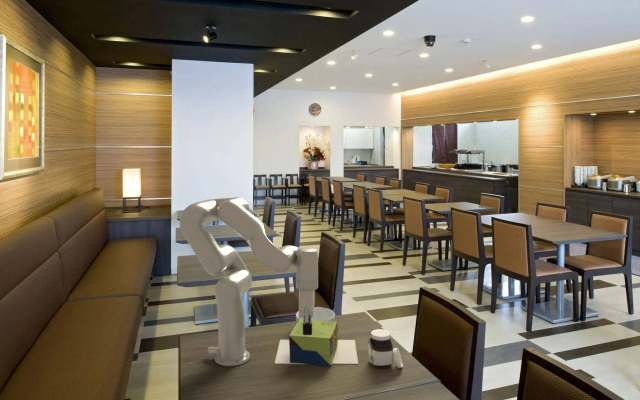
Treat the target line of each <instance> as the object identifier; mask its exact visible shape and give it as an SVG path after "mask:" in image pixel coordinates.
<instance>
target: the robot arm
mask: <svg viewBox="0 0 640 400" xmlns="http://www.w3.org/2000/svg"><path fill="white" fill-rule="evenodd" d="M212 222H223V223H224V224H225V225H227V226H228V228H229V229H231V230H233V232H234V233H237V235H238V236H240V237H241V238H242V239H243V240H245V241H246V242H247V244H248V247H249V248H250V250H251V251H252V252H253V254H254V255H255V256H256V258H257V259H258V260H259V261H260V262H262V263H263V264H264V265H265V266H266V267H267V268H269V269H270V270H272V271H273V272H275V273H280V274H283V273H285V272H287V271H289V270H290V269H291V268H293V267H295V268H296V269H295V271H296V273H295V274H296V275H295V277H296V279H295V280H296V285H295V286H296V289H297V290H298V311H299V318H300V319H301V318H302V317H303V335H312V322H311V318H313V312H314V307H315V299H316V298H315V296H316V295H315V291H316V290H317V289H318V288H319V252H318V250H317V249H316V248H314V247H309V246H308V247H300V246H299V247H298V246H294V245H291V244H290V245H288V244H287V245H284V246H281V247H280V248H279V247H277V246H276V245H275V244H274V243H273V242H272V241H271V240H270V239H269V238H268V237H267V234H266V231H265V224H264V223H263V221H261V220H260V219H258V218H257V217H256V216H255V215H253V214H252V213H251V212H250V206H249V203H248V202H247V200H246V199H244V198H242V197H239V196H235V197H226V198H225V197H223V198H213V199H205V200H201V201H197V202H194V203H191V204H189V205H187V206H186V207H185V208H184V209H183V211H182V212H181V214H180V218H179V228H180V231H181V234H182V236H183V237H184V239H185V240H186V241H187V243H188V244H189V246H190V247H191V249H192V252H194V255H195V256H196V257H197V259H198V261H199V262H200V264H201V266H202V268H203V269H204V271H205V272H206V273H207V275H210V276H212V277H213V276H219V275H221V274H223V276H222V277H221V278H220V279H219V280H218V281H217V282H216V285H215V286H214V296H215V300H216V307H217V322H218V323H217V325H218V326H217V328H218V329H217V330H218V346H217V345H216V346H207V353H208V354H209V355H211V356H213V355H215V357H214V361H215V363H216V364H218V365H220V366H223V367H236V366H240V365H243V364H245V363H247V362H248V361H249V360H250V357H251V353H250V352H249V350H246V324H245V323H246V321H245V319H246V318H245V317H246V316H245V306H244V303H243V295H245V294H246V293H247V292H249V290H250V289H251V287H252V285H253V277H252V275H251V274H252V273H251V272H250V271H249V269H248V268H247V266H246V264H245V263H244V261H243V259H242V258H241V256H240V255H239V253H238V251H237V250H236V249H235V248H234V247H233V246H231V245H229V244H218V242H217V240H216V239H215V238H214V236H213V235H212V233H211V232H210V231H209V230H208V229H206V227H205V225H207V224H210V223H212Z"/></svg>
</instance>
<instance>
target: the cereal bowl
mask: <svg viewBox="0 0 640 400" xmlns="http://www.w3.org/2000/svg"><path fill="white" fill-rule="evenodd" d="M295 320H296V324H297V323H298V321H299V320H303V317H302V318H301V319H300V318H299V310H298V311H297V312H296V313H295ZM311 320H317V321H332V322H336V313H335V312H334V311H333V310H332V309H330V308H325V307H320V306H316V307H315V306H314V312H313V318H311Z"/></svg>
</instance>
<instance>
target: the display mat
mask: <svg viewBox="0 0 640 400" xmlns="http://www.w3.org/2000/svg"><path fill="white" fill-rule="evenodd" d="M274 364H275V365H304V364H303V363H291V362H290V350H289V339H280V340H279V343H278V348H277V352H276V356H275V360H274ZM331 365H359V360H358V353H357V347H356V340H355V339H338V347H337V350H336V352H335V355H334V358H333V361H332V364H331Z"/></svg>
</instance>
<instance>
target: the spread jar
mask: <svg viewBox="0 0 640 400" xmlns="http://www.w3.org/2000/svg"><path fill="white" fill-rule="evenodd" d="M370 332H371V333H370V337H369V339H368V345H367V346H368V347H367V353H368V354H367V356H368V361H369V364H370V365H371V366H372V367H373V368H376V369H387V368H389V367H390V366H392V365H393V363H394V362H395V364H396V366H397V369H401V368H403V366H404V365H403V360H402V355H401V352H400V349H399V348H398V347H394V346H393V341H392V339H391V332H390V331H389V330H387V329H381V328H376V329H373V330H372V331H370Z"/></svg>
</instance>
